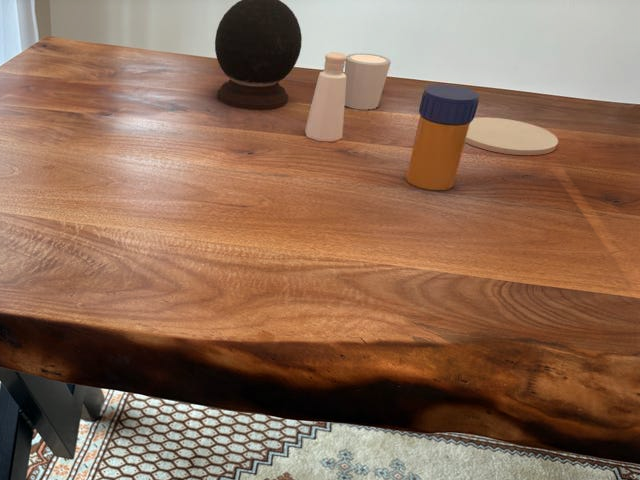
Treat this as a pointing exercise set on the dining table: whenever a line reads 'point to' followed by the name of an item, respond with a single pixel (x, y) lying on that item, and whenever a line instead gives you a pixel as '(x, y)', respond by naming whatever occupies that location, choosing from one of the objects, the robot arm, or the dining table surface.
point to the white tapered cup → (365, 80)
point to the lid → (449, 104)
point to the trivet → (510, 137)
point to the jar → (436, 154)
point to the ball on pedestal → (257, 53)
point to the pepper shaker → (328, 101)
